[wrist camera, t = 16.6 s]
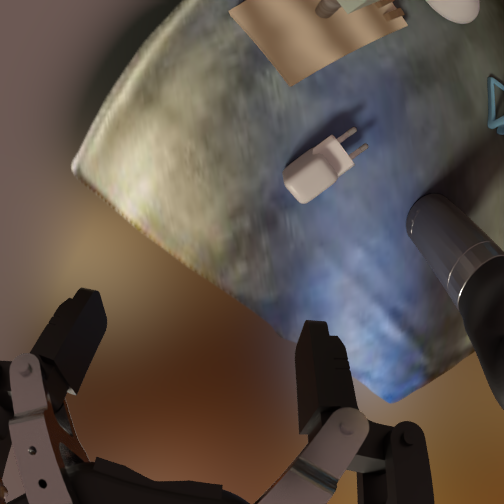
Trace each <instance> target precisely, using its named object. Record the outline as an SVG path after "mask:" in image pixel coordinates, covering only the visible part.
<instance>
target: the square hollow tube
mask: <svg viewBox="0 0 504 504" xmlns="http://www.w3.org/2000/svg"><path fill="white" fill-rule="evenodd" d="M337 1H338V2H339V4H340V5H341V6H342V7H343V9H344V10H345V11H346V13H347V14H349V13H352V12H354V11H356V10H358V9H361V8H363V7H365V6H368V5H370V4H373V3H375V2H378V1H380V0H337Z"/></svg>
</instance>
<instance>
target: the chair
mask: <svg viewBox="0 0 504 504" xmlns="http://www.w3.org/2000/svg"><path fill="white" fill-rule="evenodd" d="M494 84H495V85H497V86H498V87H499V88H501V89H502V90H503V91H504V85H502V84H501V83H500V82H498V81H497V80H496V79H494V78H493V77H488V128H491V129H494V128H496V127H498V128H497V133H498V134H500V135H504V115H503V116H502V117H500V118H498V119H496V120H495V95H494Z"/></svg>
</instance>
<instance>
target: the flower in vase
mask: <svg viewBox="0 0 504 504" xmlns="http://www.w3.org/2000/svg"><path fill="white" fill-rule="evenodd" d="M425 1H426V2H427V3H428V4H429V5H430V6H431V7H432V8H433V9H434V10H435V11H436V12H437V13H439V14H440V15H441V16H443V17H444V18H446V19H448V20H450V21H452V22H455V23H459V24H466V23H470V22H471V21H473V20H474V19H475V18H476V16H477V15H478V13H479V7H480V5H479V0H425Z"/></svg>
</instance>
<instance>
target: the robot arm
mask: <svg viewBox="0 0 504 504" xmlns="http://www.w3.org/2000/svg"><path fill="white" fill-rule="evenodd" d="M406 229H407V233H408V236H409V237H410V239H411V240H412V241H413V243H414V244H415V245H416V247H417V248H418V250H419V251H420V253H421V254H422V255H423V257H424V258H425V260H426V261H427V263H428V264H429V265H430V267H431V268H432V270H433V271H434V273H435V274H436V276H437V277H438V279H439V280H440V282H441V283H442V285H443V286H444V288H445V289H446V291H447V293H448V294H449V296H450V297H451V299H452V300H453V302H454V304H455V305H456V307H457V309H458V310H459V312H460V314H461V315H462V317H463V320H464V326H465V330H466V332H467V334H468V336H469V339H470V341H471V343H472V345H473V347H474V349H475V351H476V353H477V356H478V358H479V361H480V364H481V366H482V369H483V371H484V374H485V376H486V379H487V381H488V384H489V386H490V388H491V390H492V392H493V394H494V396H495V398H496V400H497V401H498V403H499V405H500V406H501V407H502V409H503V410H504V252H503V251H502V250H501V248H500V247H499V246H498V245H497V244H496V243H495V242H494V241H493V240H492V239H491V238H490V237H489V236H488V235H487V234H486V233H485V232H484V231H483V230H482V229H480V228H479V227H478V226H477V225H476V224H475V223H474V222H473V221H472V220H471V219H470V218H469V217H468V216H467V215H466V214H464V213H463V212H462V211H461V210H460V209H459V208H458V207H457V206H456V205H454V204H453V203H452V202H451V201H450V200H449V199H447V198H446V197H445V196H443V195H441V194H434V193H433V194H428V195H426V196H424V197H422V198H421V199H419V200H418V201H417V202H416V203H415V204H414V205H413V207H412V208H411V210H410V212H409V214H408V217H407V221H406ZM106 328H107V317H106V313H105V310H104V307H103V303H102V300H101V296H100V293H99V292H98V291H96V290H91V289H85V288H80V289H79V290H78V291H77V293H76V294H75V296H74V297H73V299H71V298H68V299H67V300H66V301H65V302H63V303H62V304H61V305H60V306H59V307H58V309H57V310H56V312H55V313H54V317H52V318H51V320H50V321H49V324H47V326H46V327H45V329H44V330H43V332H42V334H41V335H40V337H39V339H38V340H37V342H36V344H35V345H34V347H33V349H32V350H31V352H30V353H24V354H21V355H19V356H17V357H16V358H15V359H14V360H13V361H0V504H250V503H248V502H247V501H246V500H244V499H242V498H241V497H239V496H237V495H235V494H233V493H231V492H229V491H226V490H223V489H222V485H218V484H210V483H202V482H195V481H164V482H163V481H160V482H159V481H153V480H151V479H149V478H147V477H145V476H143V475H141V474H139V473H137V472H135V471H133V470H131V469H130V468H128V467H126V466H124V465H120V464H117V463H114V462H111V461H108V460H104V459H102V458H99V457H96V460H95V462H90V461H89V458H88V456H87V454H86V452H85V450H84V449H83V447H82V446H81V444H80V442H79V440H78V438H77V435H76V432H75V429H74V426H73V423H72V419H71V416H70V413H69V409H68V406H67V402H66V399H65V396H66V394H67V392H69V393H71V394H74V395H77V393H78V391H79V388H80V386H81V384H82V381H83V379H84V377H85V374H86V372H87V370H88V368H89V365H90V363H91V361H92V359H93V357H94V355H95V352H96V350H97V348H98V346H99V344H100V342H101V340H102V338H103V335H104V334H105V331H106ZM295 369H296V384H297V402H298V421H299V434H308V444H307V445H306V447H305V448H304V449H303V450H302V452H301V453H300V454H299V455H298V456H297V457H296V459H295V460H294V461H293V462H292V463H291V465H290V466H289V467H288V468H287V469H286V470H285V471H284V473H283V474H282V475H281V476H280V477H279V478H278V479H277V480H276V481H275V483H273V484H272V485H271V487H270V488H269V489H268V490H267V491H266V492H265V493H264V494H263V495H262V496H261V497H260V498H259V499H258V500H257V501H256V502H255V503H254V504H327V502H328V501H329V499H330V498H331V497H332V496H333V494H334V492H335V491H336V488H337V482H338V480H339V479H340V478H341V476H342V475H343V473H344V472H345V470H351V471H356V472H357V490H358V491H357V493H358V504H434V494H433V485H432V478H431V471H430V465H429V458H428V452H427V446H426V441H425V436H424V433H423V431H422V429H421V428H420V427H419V426H418V425H417V424H415V423H413V422H409V421H404V422H401V423H399V424H397V425H396V426H395V427H392V426H387V425H382V424H378V423H374V422H372V421H370V420H368V419H367V418H366V417H365V415H364V414H363V413H362V412H360V411H359V409H358V406H357V402H356V397H355V391H354V386H353V381H352V376H351V371H350V366H349V362H348V357H347V352H346V348H345V346H344V344H343V343H342V341H341V340H340V339H339V337H338V336H329V331H328V326H327V323H326V322H325V321H312V320H306V321H305V323H304V326H303V329H302V332H301V334H300V337H299V340H298V343H297V346H296V351H295ZM11 445H13V450H14V454H15V458H16V462H17V466H18V470H19V474H20V477H21V480H22V484H23V487H24V490H25V494H23V495H21V496H19V497H17V498H16V499H14V500H12V501H10V502H8V503H6V502H5V497H7V496H8V490H7V488H6V487H5V486H4V483H3V481H2V477H3V473H4V469H5V465H6V461H7V458H8V454H9V451H10V448H11Z"/></svg>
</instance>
